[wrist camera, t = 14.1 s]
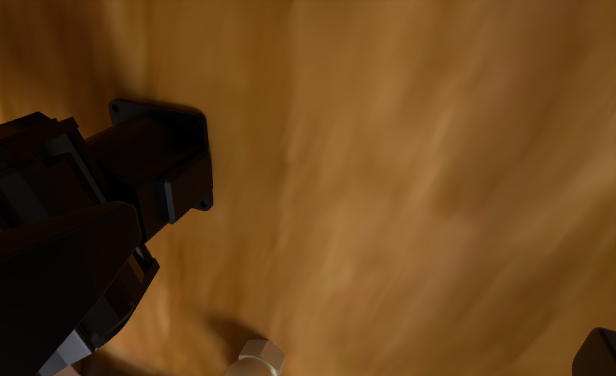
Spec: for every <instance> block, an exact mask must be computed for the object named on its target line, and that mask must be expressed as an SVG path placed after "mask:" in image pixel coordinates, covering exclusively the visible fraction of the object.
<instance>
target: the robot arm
mask: <svg viewBox="0 0 616 376" xmlns="http://www.w3.org/2000/svg"><path fill="white" fill-rule="evenodd" d="M117 106H118V107H117ZM118 108H119V109H118ZM109 110H110V115H111V120H112V125H113V126H112V127H110V128H108V129H106V130H104V131H102V132H99V133H97V134H95V135H93V136H91V137H89V138H87V139H83V137H82V136H81V134H80V132H79V131H78V129H77V128H78V127H79V126H78V125H77V123H76V121H75V119H74V118H73V117H70V118H67V119H64V120H62V121H59V122H58V120H57V119H56V118H54V119H50V118H49V117H47V116H45V115H44V114H42V113H41V112H39V111H38V112H35V113H32V114H30V115H27V116H24V117H21V118H18V119H15V120H12V121H9V122H6V123H3V124H0V376H53V375H54V374H56V373H57V372H59V371H60V370H62V369H63V368H65V367H67V366H68V365H70V364H72V363H74V362H76V361H78V360H80V359H82V358H84V357H86V356H87V355H89V354H91V353H93V352H94V351H95V350H97V349H98V348H100V347H101V346H102V345H104V344H105V343H107V342H108V341H109V340H110V339H112V338H113V337H114V336H115V335H116V334H117V333H118V332H119V331H120V330H121V329H122V328H123V327H124V326H125V324H126V323H127V322H128V320H129V319H130V317H131V315H132V314H133V312H134V310H135V309H136V307H137V305H138V304H139V302H140V300H141V299H142V297H143V295H144V293H145V292H146V290H147V288H148V287H149V285H150V283H151V282H152V280H153V278H154V277H155V275H156V273H157V271H158V270H159V268H160V266H159V264H158V262H157V260H156V259H155V258H153V257H152V256H151V254H150V252H149V250H148V249H147V247H146V245H145V244H144V243H146V242H147V241H148V240H150V239H151V238H152V237H153V236H154V235H155V234H156V233H157V232H159V231H160V230H161V229H162V228H163V227H164V226H165V225H167V224H168V223H170V224H174V223H175V222H176V221H178V220H179V219H180V218H181V217H182V216H183V215H184V214H185V213H186V212H188V211H189V210H190V209H191V208H194V209H198V210H202V211H208V210H209V209H210V208H211V207H212V206H213V194H212V189H213V179H212V167H211V155H210V152H209V146H208V134H207V122H206V119H205V117H204V116H203V115H202V114H200V113H196V112H190V111H185V110H179V109H174V108H168V107H163V106H157V105H152V104H146V103H141V102H135V101H130V100H124V99H119V98H118V99H114V100H111V101H110V102H109ZM195 120H197V121H198V122H199V125H197V124H196V122H195ZM203 201H204V202H205V203H206V204H205V203H204V202H203ZM572 376H616V331H613V330H609V329H605V328H602V327H597V328H594V329H593V330H592V331H591V332H590V333H589V335H588V336H587V338H586V340H585V341H584V343H583V344H582V346H581V348H580V349H579V351H578V352H577V354H576V356H575V358H574V360H573V364H572Z"/></svg>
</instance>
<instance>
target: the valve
mask: <svg viewBox="0 0 616 376" xmlns="http://www.w3.org/2000/svg"><path fill="white" fill-rule="evenodd" d="M285 357H286V355H285V354H284V353H283V352H282V351H281V350H280V349H279V348H277V347H276V346H275V345H274V344H273V343H272V342H270V341H269V340H266V339H248V340H247V342H246V343H245V345H244V347H243V349H242V351H241V352H240V354H239V359H238V361H236V362H235V363H233V364H232V365H231V366H230V367H229V368H228V369H227V370H226V372H225V373H224V375H223V376H280V375H281V373H282V370H283V367H284V362H285Z"/></svg>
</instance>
